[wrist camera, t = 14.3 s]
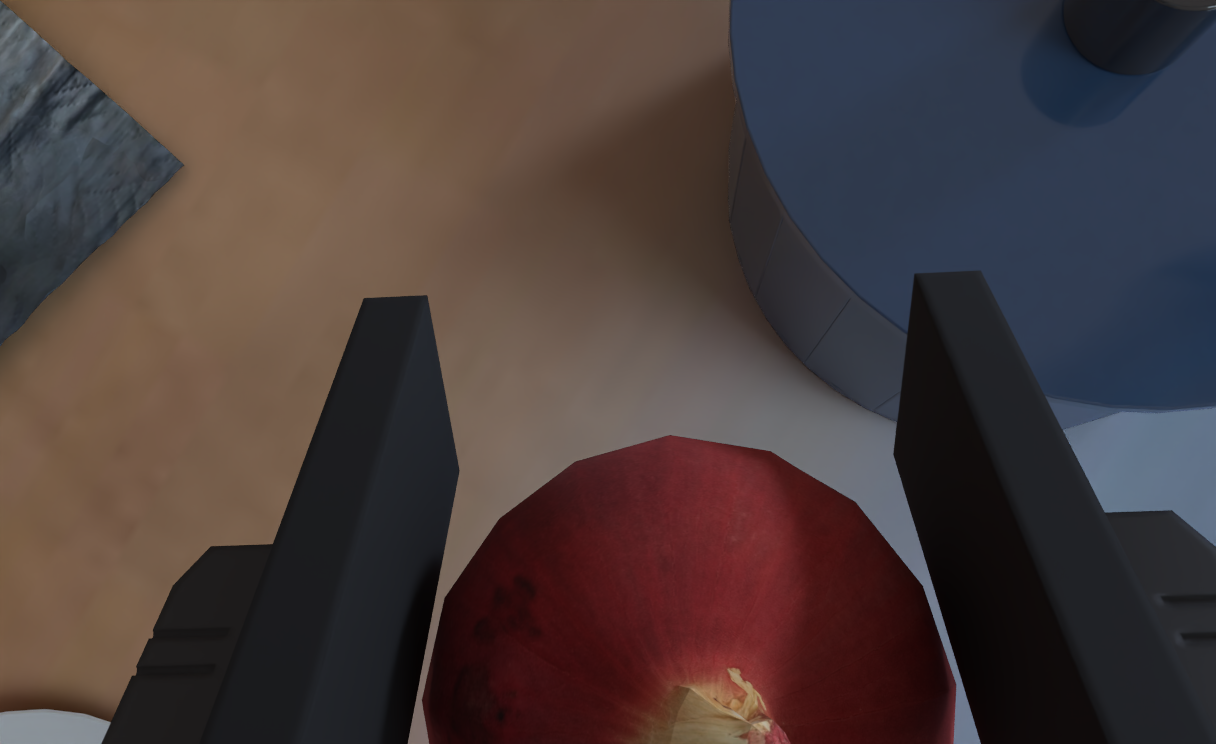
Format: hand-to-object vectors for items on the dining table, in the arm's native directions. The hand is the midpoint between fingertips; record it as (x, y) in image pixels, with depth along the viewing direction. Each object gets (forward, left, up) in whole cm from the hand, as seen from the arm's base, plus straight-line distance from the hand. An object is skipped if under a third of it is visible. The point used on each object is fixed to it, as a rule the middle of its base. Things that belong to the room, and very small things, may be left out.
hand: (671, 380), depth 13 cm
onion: (0, +4, -4) cm, 5 cm away
